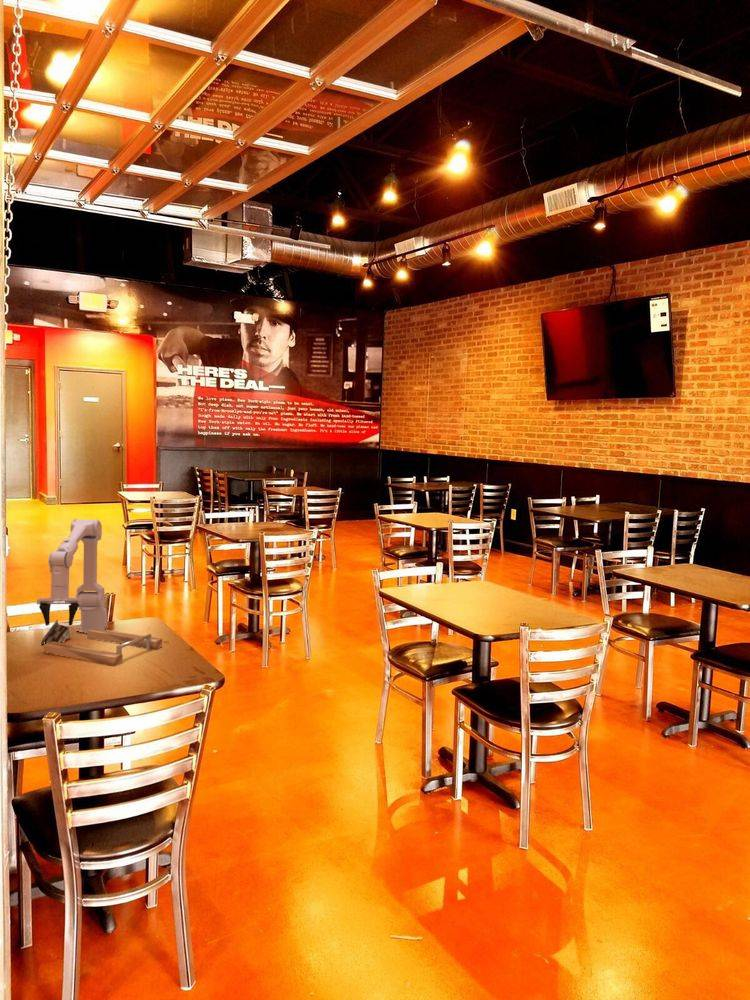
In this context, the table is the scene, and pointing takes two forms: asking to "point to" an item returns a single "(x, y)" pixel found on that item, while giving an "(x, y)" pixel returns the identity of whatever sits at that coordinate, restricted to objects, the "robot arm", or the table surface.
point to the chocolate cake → (57, 633)
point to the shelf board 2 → (122, 637)
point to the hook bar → (148, 637)
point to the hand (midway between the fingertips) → (59, 625)
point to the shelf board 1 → (84, 653)
